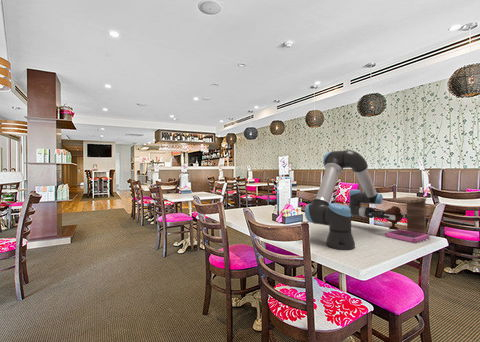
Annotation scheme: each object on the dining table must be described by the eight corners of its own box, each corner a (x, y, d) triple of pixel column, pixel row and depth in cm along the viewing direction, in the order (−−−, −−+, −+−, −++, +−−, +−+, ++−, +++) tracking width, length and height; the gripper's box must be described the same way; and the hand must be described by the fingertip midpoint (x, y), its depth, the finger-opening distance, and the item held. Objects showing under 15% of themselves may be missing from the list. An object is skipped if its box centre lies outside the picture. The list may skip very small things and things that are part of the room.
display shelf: (410, 242, 141) (409, 200, 142) (391, 237, 151) (390, 198, 151) (428, 237, 151) (427, 198, 151) (408, 233, 161) (408, 196, 161)
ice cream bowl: (397, 226, 163) (396, 204, 163) (407, 231, 152) (406, 207, 152) (380, 226, 164) (380, 204, 164) (389, 230, 153) (389, 207, 153)
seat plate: (415, 243, 139) (414, 238, 139) (385, 236, 154) (385, 232, 154) (429, 238, 147) (429, 234, 147) (400, 233, 162) (399, 229, 162)
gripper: (376, 215, 180) (409, 220, 160) (357, 219, 168) (389, 224, 149) (376, 205, 180) (409, 209, 160) (357, 208, 168) (389, 212, 149)
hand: (399, 216), depth 155 cm, fingers closed on ice cream bowl, 11 cm apart
